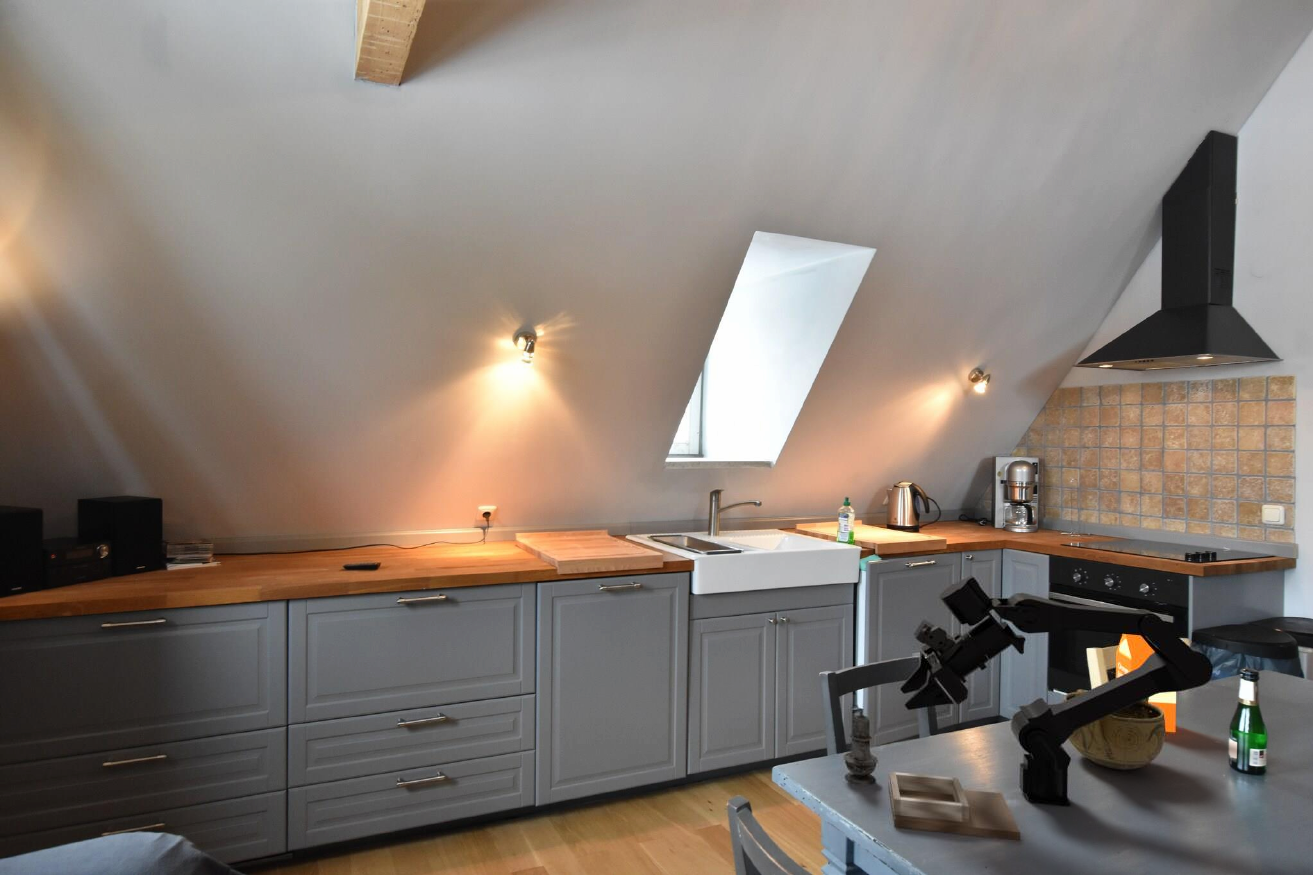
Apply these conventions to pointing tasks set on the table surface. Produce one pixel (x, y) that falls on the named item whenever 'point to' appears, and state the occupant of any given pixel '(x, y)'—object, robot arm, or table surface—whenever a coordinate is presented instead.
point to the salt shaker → (860, 753)
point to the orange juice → (1131, 658)
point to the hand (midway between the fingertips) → (903, 699)
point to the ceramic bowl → (1122, 736)
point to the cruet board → (948, 807)
